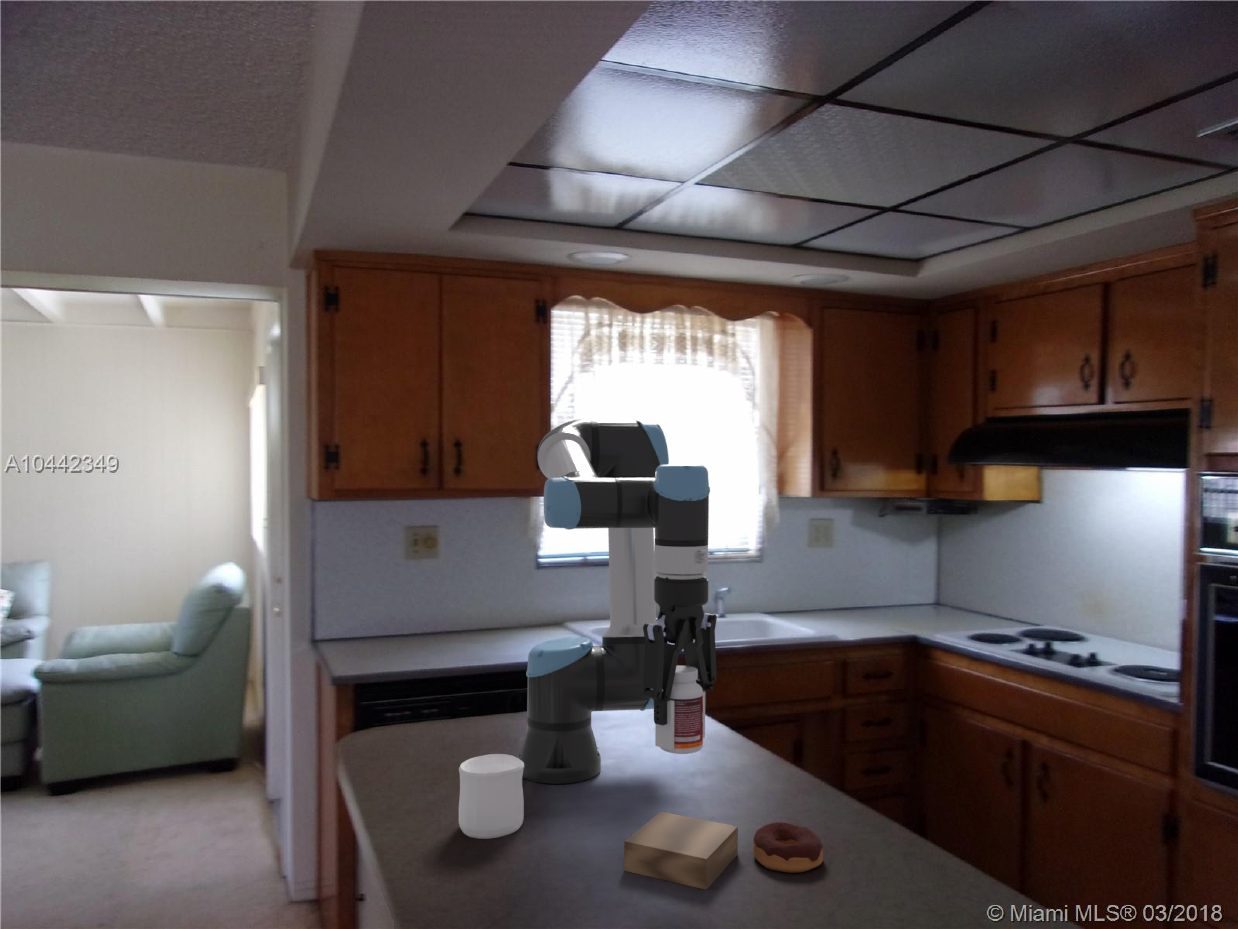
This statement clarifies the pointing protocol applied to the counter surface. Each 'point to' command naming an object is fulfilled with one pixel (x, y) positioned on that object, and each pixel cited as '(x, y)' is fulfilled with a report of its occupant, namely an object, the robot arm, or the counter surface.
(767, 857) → the donut
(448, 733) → the counter surface
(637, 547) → the robot arm
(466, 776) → the cup
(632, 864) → the tan flat block
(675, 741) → the pill bottle
